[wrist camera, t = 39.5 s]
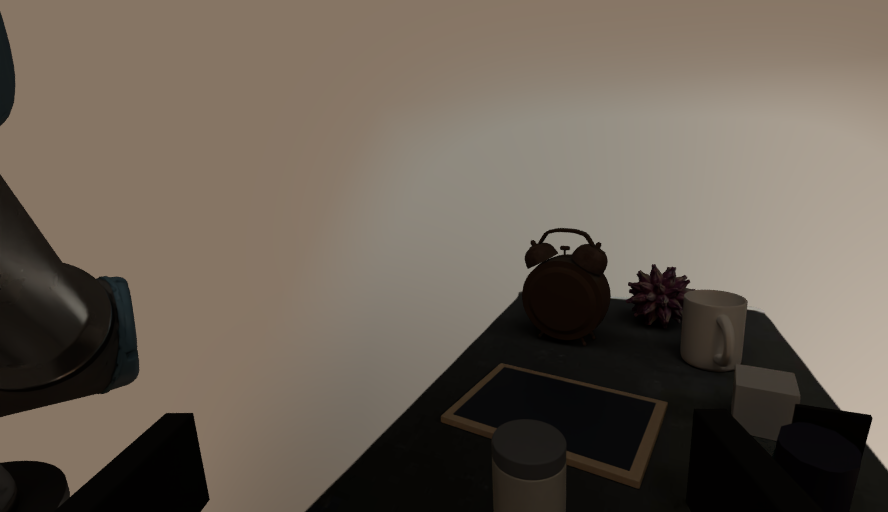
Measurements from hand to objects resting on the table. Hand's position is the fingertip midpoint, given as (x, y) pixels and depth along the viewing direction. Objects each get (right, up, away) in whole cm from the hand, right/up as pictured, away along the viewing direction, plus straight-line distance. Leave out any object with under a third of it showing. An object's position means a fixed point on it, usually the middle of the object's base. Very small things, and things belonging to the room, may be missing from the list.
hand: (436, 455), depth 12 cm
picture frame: (+15, -15, +48) cm, 52 cm away
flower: (+41, -8, +75) cm, 86 cm away
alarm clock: (+22, -10, +71) cm, 75 cm away
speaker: (+33, -19, +29) cm, 48 cm away
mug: (+41, -12, +58) cm, 72 cm away
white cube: (+38, -15, +44) cm, 60 cm away
